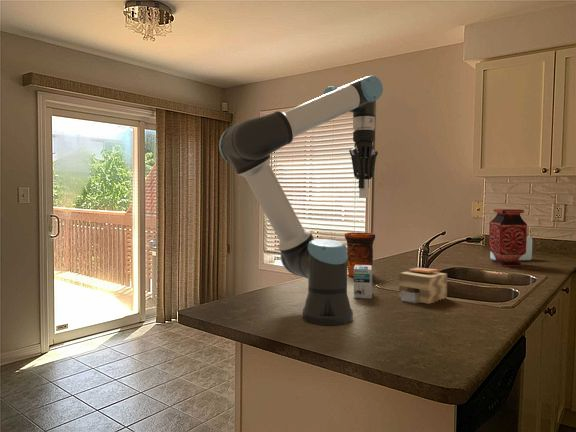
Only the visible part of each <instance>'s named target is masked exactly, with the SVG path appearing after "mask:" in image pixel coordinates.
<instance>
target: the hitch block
mask: <svg viewBox="0 0 576 432" xmlns="http://www.w3.org/2000/svg"><path fill="white" fill-rule="evenodd" d="M404 290H409V291H414V292H415V291H419V290H420V302H419V303H422V304H423V303H424V304H427V305H429V304H433V303H436V302H439V301H438V300H440V301H442V300H441V299H443V298H447V299H448V273H446V272H445V273H444V272H438V271H435V272H431V273H425V272H414V271H408V270H407V271H403V272H399V274H398V298H399V299H401V291H404ZM443 300H444V299H443ZM435 301H436V302H435Z"/></svg>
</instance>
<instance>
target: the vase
mask: <svg viewBox="0 0 576 432" xmlns="http://www.w3.org/2000/svg"><path fill="white" fill-rule="evenodd" d="M493 213H496V214H495V216H494V218H493V219H492V220H490V221H489V233H488V234H489V236H488V250H489V252H490V251H491V252H492V253H493V255H494V256H495V258H496V260H492V261H491V263H492V264H494V265H496V266H499V267H522V263H521V262H518V261H520V260H519V258H520V257H521V256H522V255H524V254H526V243H527V237H528V235H527V234H528V224H527V222H526V221H525V220H524V219H523V217H522V216H521V214H524V213H525V209H521V208H520V209H518V208H515V209H513V208H505V209H504V208H494V209H493Z"/></svg>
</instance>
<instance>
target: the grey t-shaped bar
mask: <svg viewBox="0 0 576 432" xmlns="http://www.w3.org/2000/svg"><path fill="white" fill-rule="evenodd" d="M400 301H401V302H406V303H410V304H419V303H421V302H420V290H419V291H415V292H414V291H409V290H404V291H401V298H400Z"/></svg>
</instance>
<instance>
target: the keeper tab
mask: <svg viewBox="0 0 576 432" xmlns="http://www.w3.org/2000/svg"><path fill="white" fill-rule="evenodd" d="M408 271H414V272H425V273H431V272H438V271H439V269H438V268H426V267H419V266H416V267H410V268H407V272H408Z"/></svg>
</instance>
